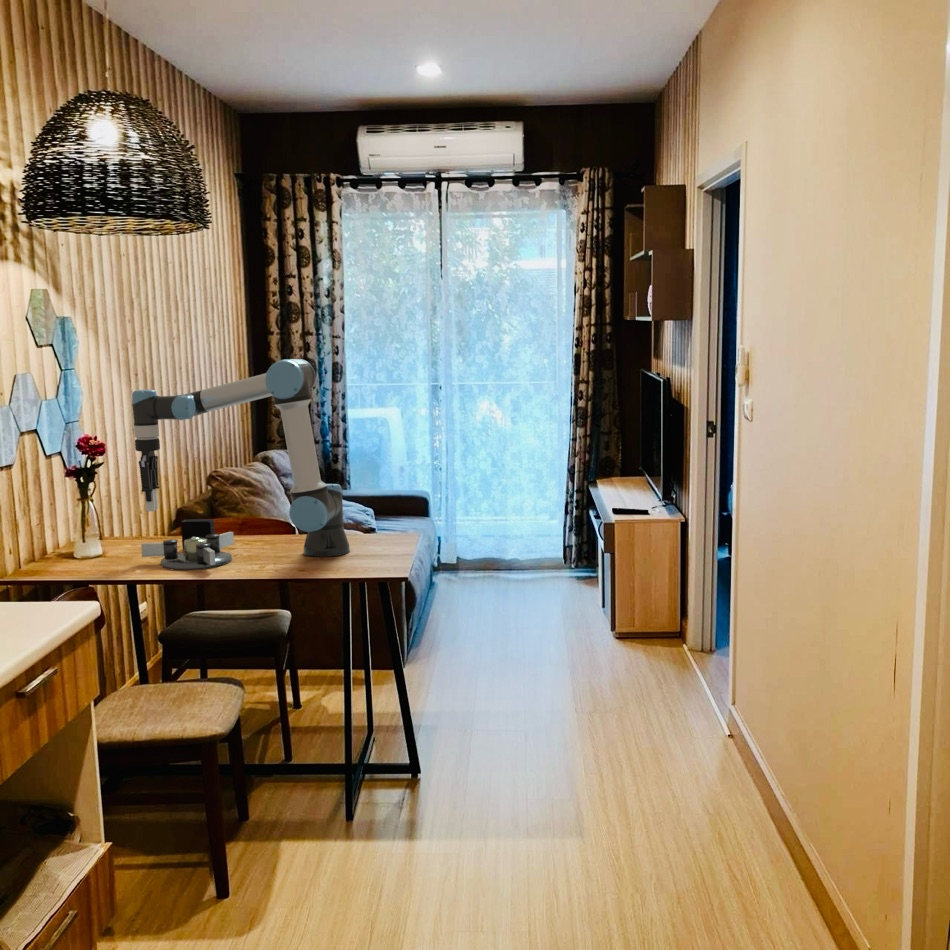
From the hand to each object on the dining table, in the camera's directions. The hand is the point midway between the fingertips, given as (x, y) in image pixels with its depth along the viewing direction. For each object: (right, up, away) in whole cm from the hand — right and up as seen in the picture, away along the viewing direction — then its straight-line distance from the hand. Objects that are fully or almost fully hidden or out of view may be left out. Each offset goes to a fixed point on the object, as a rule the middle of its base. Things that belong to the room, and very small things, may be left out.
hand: (152, 509), depth 313 cm
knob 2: (+21, -17, -12) cm, 29 cm away
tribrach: (+15, -17, -2) cm, 23 cm away
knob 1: (+4, -16, -3) cm, 16 cm away
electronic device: (+10, -14, +17) cm, 25 cm away
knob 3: (+20, -14, +8) cm, 26 cm away
